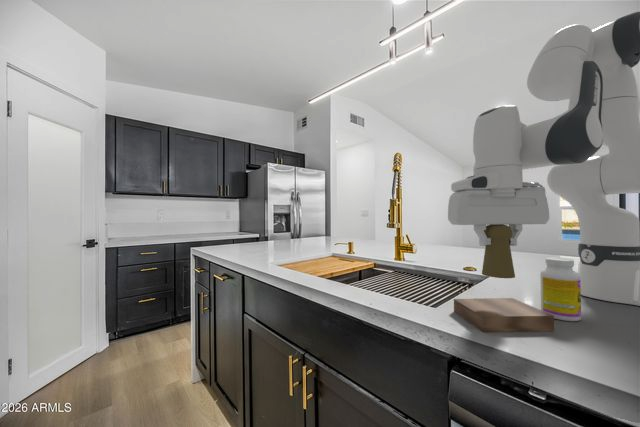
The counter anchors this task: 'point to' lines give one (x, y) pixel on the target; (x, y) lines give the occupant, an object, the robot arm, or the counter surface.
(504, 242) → the cork
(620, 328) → the counter surface
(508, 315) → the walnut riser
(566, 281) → the supplement bottle
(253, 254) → the counter surface
